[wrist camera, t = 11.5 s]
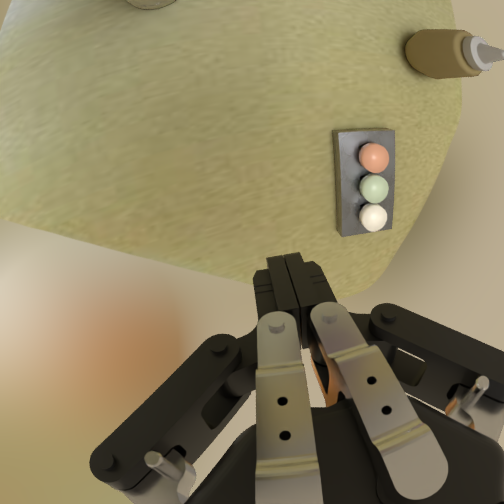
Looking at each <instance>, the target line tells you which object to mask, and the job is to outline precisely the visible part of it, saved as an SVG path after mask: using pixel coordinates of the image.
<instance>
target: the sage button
mask: <svg viewBox="0 0 504 504" xmlns="http://www.w3.org/2000/svg"><path fill="white" fill-rule="evenodd" d="M359 188H360V193H361V195H362V196H363V197H364V198H365V199H366V200H367V201H369V202H370V203H380V202H381V201H383V200H384V199H385V198H386V196H387V194H388V190H389V187H388V183H387V181H386V180H385V179H384V178H382V177H381V176H379V175H378V174H375V173H371V174H368V175H363V176H361V177H360V187H359Z"/></svg>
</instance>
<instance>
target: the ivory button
mask: <svg viewBox="0 0 504 504" xmlns="http://www.w3.org/2000/svg"><path fill="white" fill-rule="evenodd" d="M359 219H360V222H361V224H362V225H363V226H364V227H365V228H366V229H367V230H369V231H372V232H374V231H378V230H380V229H381V228H382V227H383V226H384V225H385V223H386V221H387V213H386V211H385V209H383V208H382V207H381V206H380V205H379V204H377V203H368V204H361V205H360V215H359Z"/></svg>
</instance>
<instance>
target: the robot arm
mask: <svg viewBox="0 0 504 504" xmlns="http://www.w3.org/2000/svg"><path fill="white" fill-rule="evenodd" d="M127 1H128V2H129V3H130V4H132V5H133V6H135V7H137V8H140V9H157V8H161V7H164V6H167V5H169V4H171V3H172V2H174V1H175V0H127ZM266 260H267V268H268V269H264V270H258V271H256V273H255V275H254V277H253V284H254V290H255V298H256V306H257V313H258V324H257V326H256V327H255V328H254V330H253V331H251V332H250V333H249V334H247V335H245V336H243V337H240V338H238V339H236V338H235V337H233V336H231V335H229V334H217V335H214V336H211V337H210V338H208V339H207V340H206V341H204V342H203V344H201V345H200V346H199V347H198V349H197V350H196V351H195V352H194V353H193V354H192V355H191V356H190V357H189V358H188V359H187V360H186V361H185V362H184V363H183V364H182V365H181V366H180V367H179V368H178V369H177V370H176V371H175V372H174V373H173V374H172V375H171V376H170V377H169V378H168V379H167V380H166V381H165V382H164V383H163V384H162V385H161V386H160V387H159V388H158V389H157V390H156V391H155V392H154V393H153V394H152V395H151V396H150V397H149V398H148V399H147V400H146V401H145V402H144V403H143V404H142V405H141V406H140V407H139V408H138V409H137V410H135V411H134V412H133V413H132V414H131V415H130V416H129V417H128V418H127V419H126V420H125V421H124V422H123V423H122V424H121V425H120V426H119V427H118V428H117V429H116V430H115V431H114V432H113V433H112V434H111V435H110V436H108V438H106V439H105V440H104V441H103V442H102V443H101V444H100V445H99V446H98V447H97V448H96V449H95V450H94V451H93V453H92V455H91V457H90V462H89V463H90V469H91V471H92V473H93V475H94V476H95V477H96V478H97V479H99V480H100V481H102V482H104V483H106V484H108V485H110V486H111V487H112V488H114V489H116V490H118V491H120V492H122V493H124V494H125V495H126V496H127V497H128V498H129V499H130V500H131V501H132V502H133V503H134V504H504V451H503V449H502V447H501V446H500V445H499V444H498V443H497V442H498V439H499V436H500V433H501V431H502V428H503V425H504V352H503V351H501V350H499V349H496V348H494V347H492V346H490V345H487V344H485V343H482V342H480V341H478V340H476V339H473V338H471V337H469V336H467V335H464V334H462V333H460V332H458V331H455V330H453V329H451V328H448V327H446V326H444V325H441V324H439V323H437V322H434V321H432V320H430V319H428V318H425V317H423V316H420V315H418V314H416V313H414V312H411V311H409V310H407V309H404V308H402V307H400V306H397V305H395V304H390V303H384V304H379V305H377V306H376V307H374V308H373V309H372V311H371V314H355V313H351V312H348V311H347V309H346V308H345V307H344V306H343V305H341V304H339V303H337V300H336V298H335V296H334V294H333V292H332V290H331V287H330V285H329V283H328V281H327V279H326V277H325V275H324V273H323V271H322V269H321V267H320V266H319V265H317V264H316V263H315V262H313V261H310V262H305V263H304V261H303V259H302V256H301V254H300V252H297V253H291V254H285V255H283V256H282V255H280V256H274V257H268V258H266ZM301 345H302V348H303V349H305V348H309V349H310V353H311V364H312V367H313V370H314V372H315V375H316V378H317V380H318V383H319V385H320V388H321V391H322V393H323V396H324V399H325V403H326V407H324V408H322V407H321V408H319V407H315V408H314V407H310V401H309V394H308V388H307V381H306V374H305V368H304V364H303V363H302V357H301V351H300V350H301ZM398 348H400V349H402V350H404V351H406V352H408V353H411V354H413V355H415V356H417V357H419V358H421V359H423V360H424V361H425V362H423V361H421V360H419V359H417V358H415V357H413V356H411V355H409V354H407V353H405V352H403V351H400V350H398ZM253 390H256V424H254V425H252V426H251V427H249V428H248V429H246V430H245V431H244V432H243V433H241V435H239V436H238V437H237V438H236V440H235V441H234V442H233V443H232V445H231V446H230V447H229V449H228V450H227V451H226V453H225V454H224V455H223V457H222V458H221V459H220V460H219V462H218V463H217V464H216V465H215V467H214V468H213V469H212V471H211V472H210V473H209V474H208V475H207V477H206V478H205V479H204V480H203V482H202V483H201V484H200V486H198V488H197V489H196V490H195V491H194V492H193V493H192V495H191V496H190V497H189V492H190V490H191V488H192V486H193V485H194V483H195V481H196V471H195V469H194V467H193V465H192V464H193V463H194V462H195V461H196V460H197V459H198V458H199V457H200V455H201V454H202V453H203V452H204V451H205V450H206V449H207V448H208V446H209V445H210V444H211V443H212V442H213V441H214V439H215V438H216V437H217V436H218V434H219V433H220V432H221V431H222V430H223V429H224V427H225V426H226V425H227V424H228V423H229V421H230V420H231V419H232V418H233V416H234V415H235V414H236V413H237V411H238V410H239V409H240V407H241V406H242V405H243V404H244V402H245V401H246V400H247V399H248V397H249V395H250V394H251V391H253ZM405 392H406V393H408V394H410V395H412V396H414V397H416V398H418V399H420V400H422V401H424V402H426V403H428V404H430V405H432V406H434V407H436V408H438V409H441V410H442V411H444V412H445V414H446V415H445V414H443V413H441V412H439V411H437V410H435V409H433V408H431V407H430V406H428V405H426V404H424V403H422V402H420V401H418V400H417V399H415V398H413V397H410V396H408V395H406V394H405Z"/></svg>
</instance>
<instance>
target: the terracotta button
mask: <svg viewBox="0 0 504 504" xmlns="http://www.w3.org/2000/svg"><path fill="white" fill-rule="evenodd" d="M359 161H360V164H361V165H362V166H363V167H364V168H365V169H367V170H368V171H370V172H372V173H380V172H382V171H383V170H384V169H385V168H386V167H387V165H388V163H389V154H388V152H387V150H386V149H385V148H384V147H383V146H381V145H379V144H376V143H367V144H365V145H364V146H361V147H360V148H359Z"/></svg>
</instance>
